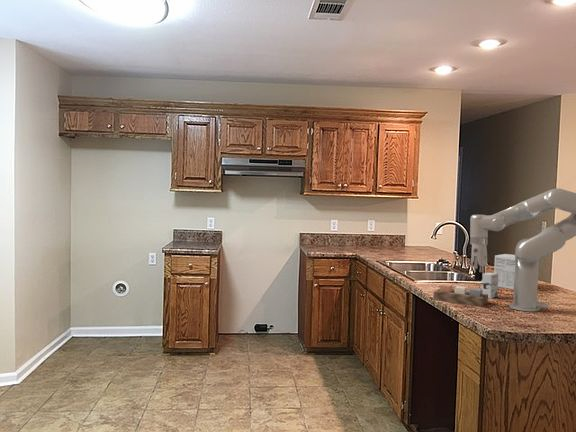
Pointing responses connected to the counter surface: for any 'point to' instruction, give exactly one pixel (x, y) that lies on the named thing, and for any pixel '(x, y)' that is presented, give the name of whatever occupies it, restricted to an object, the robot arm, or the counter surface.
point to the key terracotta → (446, 288)
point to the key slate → (476, 292)
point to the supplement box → (505, 270)
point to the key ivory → (460, 290)
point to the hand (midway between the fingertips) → (478, 280)
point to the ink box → (490, 284)
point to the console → (460, 298)
